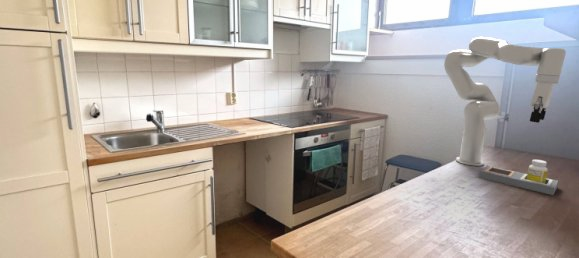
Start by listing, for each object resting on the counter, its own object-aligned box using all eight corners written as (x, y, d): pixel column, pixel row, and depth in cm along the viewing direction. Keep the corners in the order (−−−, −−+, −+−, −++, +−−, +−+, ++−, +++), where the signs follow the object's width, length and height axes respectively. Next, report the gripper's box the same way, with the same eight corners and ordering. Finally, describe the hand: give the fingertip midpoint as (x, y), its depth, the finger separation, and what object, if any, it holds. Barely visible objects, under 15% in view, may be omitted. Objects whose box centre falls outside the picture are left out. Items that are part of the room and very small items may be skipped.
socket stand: (486, 171, 150) (487, 164, 149) (556, 187, 132) (558, 180, 131) (478, 177, 142) (479, 170, 141) (553, 195, 124) (554, 187, 123)
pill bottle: (537, 184, 135) (542, 159, 133) (547, 189, 129) (553, 163, 127) (522, 183, 136) (526, 158, 134) (531, 188, 130) (536, 162, 128)
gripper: (539, 78, 138) (530, 116, 142) (531, 79, 126) (521, 121, 130) (561, 79, 133) (551, 120, 137) (555, 81, 121) (544, 125, 125)
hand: (536, 120), depth 133 cm, fingers open, 9 cm apart
